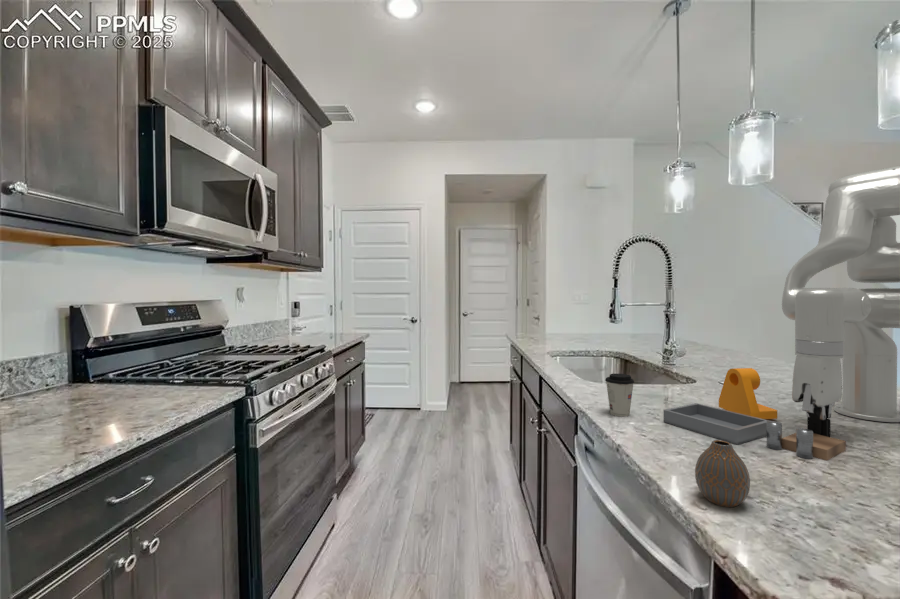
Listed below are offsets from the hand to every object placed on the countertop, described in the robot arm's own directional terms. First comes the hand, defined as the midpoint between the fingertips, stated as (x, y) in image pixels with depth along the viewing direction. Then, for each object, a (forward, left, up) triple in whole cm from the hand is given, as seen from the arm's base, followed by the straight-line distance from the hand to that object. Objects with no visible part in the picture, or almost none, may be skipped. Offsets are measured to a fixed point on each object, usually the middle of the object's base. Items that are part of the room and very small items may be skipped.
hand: (818, 436), depth 85 cm
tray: (+10, -15, -1) cm, 18 cm away
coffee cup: (+20, -33, -1) cm, 39 cm away
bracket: (-7, -17, -1) cm, 18 cm away
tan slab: (+6, +2, -2) cm, 6 cm away
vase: (+42, +5, -1) cm, 43 cm away
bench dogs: (+12, 0, -1) cm, 12 cm away
